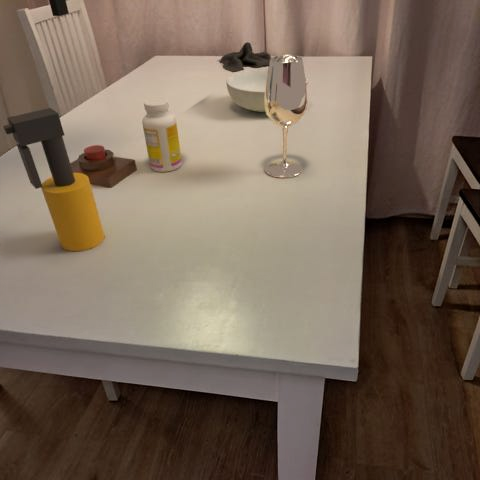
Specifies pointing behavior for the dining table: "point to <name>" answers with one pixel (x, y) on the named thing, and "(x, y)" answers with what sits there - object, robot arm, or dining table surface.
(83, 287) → the dining table surface
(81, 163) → the button block
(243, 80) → the serving bowl
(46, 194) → the spray bottle
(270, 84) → the wineglass
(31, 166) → the trigger
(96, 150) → the button
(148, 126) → the supplement bottle
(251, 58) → the cloth
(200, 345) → the dining table surface
